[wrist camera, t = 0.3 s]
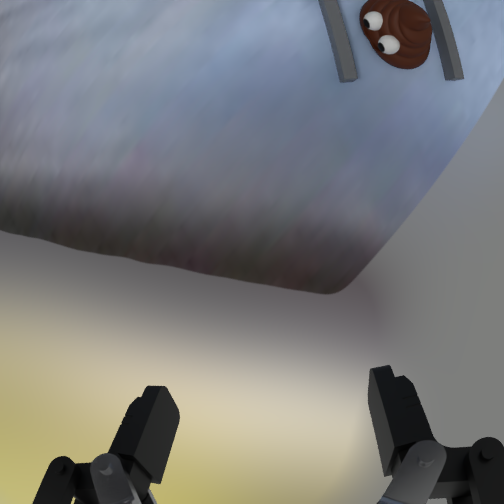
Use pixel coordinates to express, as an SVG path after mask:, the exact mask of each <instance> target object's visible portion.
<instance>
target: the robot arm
mask: <svg viewBox="0 0 504 504" xmlns="http://www.w3.org/2000/svg"><path fill="white" fill-rule="evenodd" d="M368 405H369V410H370V414H371V418H372V422H373V427H374V431H375V435H376V440H377V444H378V449H379V454H380V458H381V463H382V468H383V473H384V477H385V476H389V475H392V477H393V480H392V481H391V483H390V485H389V486H388V488H387V490H386V491H385V493H384V494H383V496H382V498H381V499H380V500H379V502H378V503H377V504H426V503H427V500H428V499H432V498H433V499H435V498H447V503H448V504H504V447H503V445H502V443H501V442H500V441H499V440H497V439H495V438H492V437H485V438H482V439H480V440H478V441H476V442H475V443H474V444H473V446H472V447H459V448H450V447H445V446H443V445H441V444H440V443H438V442H437V441H436V440H435V438H434V437H433V434H432V432H431V429H430V426H429V423H428V420H427V418H426V415H425V413H424V410H423V408H422V405H421V402H420V400H419V397H418V396H417V392H416V390H415V387H414V385H413V383H412V382H411V381H410V380H409V379H408V378H406V377H405V376H404V375H403V376H399V377H394V374H393V371H392V369H391V366H390V365H386V366H382V367H376V368H372V369H370V374H369V387H368ZM179 419H180V415H179V410H178V408H177V406H176V404H175V402H174V400H173V398H172V396H171V394H170V393H169V391H168V389H167V388H166V387H165V386H147V387H146V388H145V390H144V392H143V394H142V397H137V398H136V399H135V400H134V401H133V402H132V403H131V404H130V405H129V407H128V409H127V412H126V414H125V417H124V418H123V421H122V424H121V425H120V427H119V429H118V431H117V433H116V436H115V438H114V440H113V442H112V445H111V447H110V449H109V451H108V453H105V454H101V455H99V456H98V457H96V458H95V459H94V460H93V462H91V463H77V464H75V463H74V462H73V461H72V460H71V459H70V458H68V457H66V456H61V457H57V458H55V459H54V460H53V461H52V462H51V463H50V465H49V467H48V469H47V471H46V474H45V476H44V478H43V480H42V482H41V485H40V487H39V489H38V492H37V494H36V497H35V499H34V501H33V504H71V501H72V498H73V497H75V498H76V499H75V502H74V504H157V503H156V501H155V499H154V497H153V494H152V493H151V491H150V489H149V486H150V483H156V484H160V483H161V481H162V477H163V474H164V470H165V467H166V464H167V461H168V457H169V454H170V451H171V447H172V444H173V441H174V437H175V434H176V430H177V428H178V424H179Z"/></svg>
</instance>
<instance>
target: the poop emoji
mask: <svg viewBox="0 0 504 504" xmlns="http://www.w3.org/2000/svg"><path fill="white" fill-rule="evenodd" d="M430 21H431V20H430V18H429V16H428V14H427V13H426V12H425V11H424V10H423V9H422V8H421V7H419V6H418V5H416V4H415V3H413V2H411V1H408V0H368V1H367V2H366V3H365V4H364V5H363V7H362V9H361V11H360V25H361V28H362V30H363V32H364V34H365V36H366V37H367V38H368V40H369V41H370V43H371V45H372V47H373V49H374V50H375V51H376V53H377V54H378V55H379V56H380V57H381V58H382V59H383V60H384V61H386V62H387V63H389V64H390V65H392V66H395V67H397V68H401V69H413V68H416V67H419V66H420V65H422V64H423V63H424V62H425V60H426V59H427V57H428V54H429V50H430V43H431V35H432V26H431V23H430Z"/></svg>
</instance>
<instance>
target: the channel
mask: <svg viewBox="0 0 504 504" xmlns="http://www.w3.org/2000/svg"><path fill="white" fill-rule="evenodd" d="M318 1H319V4H320V7H321V11H322V14H323V17H324V21H325V24H326V28H327V31H328V35H329V39H330V42H331V46H332V50H333V54H334V58H335V62H336V67H337V71H338V75H339V80H340V83H342V82H353V81H354V80H356V79H358V77H357V73H356V68H355V64H354V60H353V56H352V52H351V48H350V44H349V40H348V37H347V33H346V29H345V26H344V22H343V19H342V16H341V13H340V9H339V6H338V3H337V0H318ZM423 1H424V4H425V7H426V10H427V13H428V16H429V18H430V20H431V21H430V22H431V25H432V29H433V32H434V35H435V39H436V43H437V46H438V50H439V54H440V58H441V62H442V66H443V71H444V76H445V80H451V81H455V80H461V79H464V75H463V70H462V66H461V62H460V58H459V54H458V50H457V46H456V42H455V39H454V35H453V32H452V28H451V25H450V22H449V19H448V16H447V13H446V10H445V7H444V4H443V2H442V0H423Z"/></svg>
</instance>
